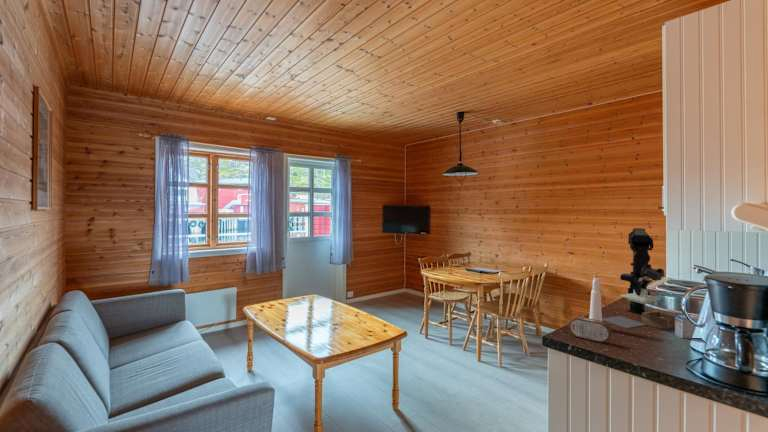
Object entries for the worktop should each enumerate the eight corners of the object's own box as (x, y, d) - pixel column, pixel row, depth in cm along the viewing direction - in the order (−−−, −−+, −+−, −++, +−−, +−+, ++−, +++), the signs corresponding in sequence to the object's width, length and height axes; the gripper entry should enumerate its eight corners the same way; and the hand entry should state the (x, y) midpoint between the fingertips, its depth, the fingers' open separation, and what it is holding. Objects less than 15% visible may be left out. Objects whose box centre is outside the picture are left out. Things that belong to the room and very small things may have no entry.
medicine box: (694, 335, 145) (695, 314, 145) (703, 339, 140) (703, 318, 140) (674, 334, 146) (674, 314, 145) (682, 338, 141) (682, 317, 141)
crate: (656, 320, 164) (657, 310, 164) (680, 327, 155) (680, 317, 154) (641, 322, 161) (641, 312, 161) (665, 329, 151) (665, 319, 151)
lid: (636, 297, 166) (636, 285, 166) (660, 303, 156) (661, 290, 156) (620, 299, 162) (620, 287, 162) (644, 305, 152) (644, 292, 152)
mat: (619, 316, 170) (619, 316, 170) (647, 325, 157) (647, 324, 157) (599, 319, 166) (599, 318, 166) (626, 328, 153) (626, 327, 153)
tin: (612, 343, 137) (612, 322, 136) (610, 345, 134) (610, 324, 134) (570, 333, 147) (570, 314, 147) (568, 335, 145) (568, 315, 144)
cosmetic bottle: (589, 328, 153) (589, 279, 152) (586, 324, 159) (587, 276, 158) (605, 330, 151) (605, 280, 150) (601, 325, 157) (602, 277, 156)
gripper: (645, 265, 148) (644, 301, 148) (673, 263, 155) (672, 297, 155) (619, 261, 159) (619, 295, 159) (647, 259, 165) (646, 292, 165)
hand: (640, 295), depth 159 cm, fingers closed on lid
